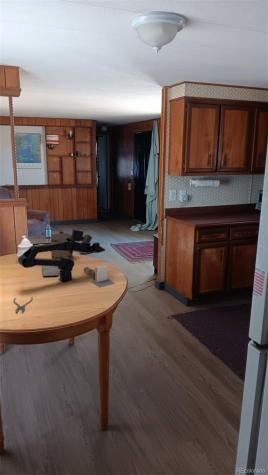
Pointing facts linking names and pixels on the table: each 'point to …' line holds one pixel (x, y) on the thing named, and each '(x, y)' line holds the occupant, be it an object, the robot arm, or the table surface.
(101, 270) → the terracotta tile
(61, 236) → the wooden container
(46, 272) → the stone slab
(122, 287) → the table surface
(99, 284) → the charcoal mat
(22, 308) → the pliers
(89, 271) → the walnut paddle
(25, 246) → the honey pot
